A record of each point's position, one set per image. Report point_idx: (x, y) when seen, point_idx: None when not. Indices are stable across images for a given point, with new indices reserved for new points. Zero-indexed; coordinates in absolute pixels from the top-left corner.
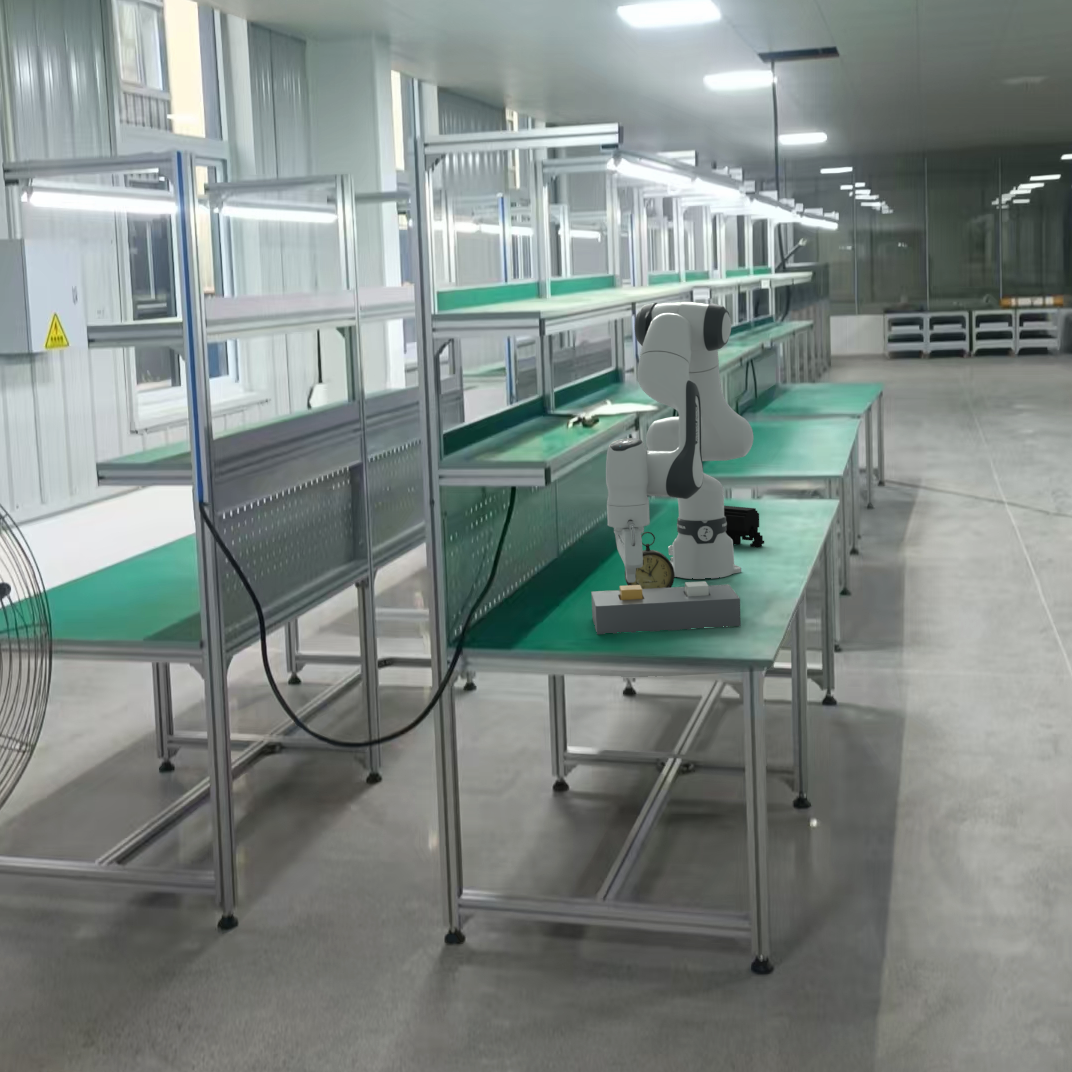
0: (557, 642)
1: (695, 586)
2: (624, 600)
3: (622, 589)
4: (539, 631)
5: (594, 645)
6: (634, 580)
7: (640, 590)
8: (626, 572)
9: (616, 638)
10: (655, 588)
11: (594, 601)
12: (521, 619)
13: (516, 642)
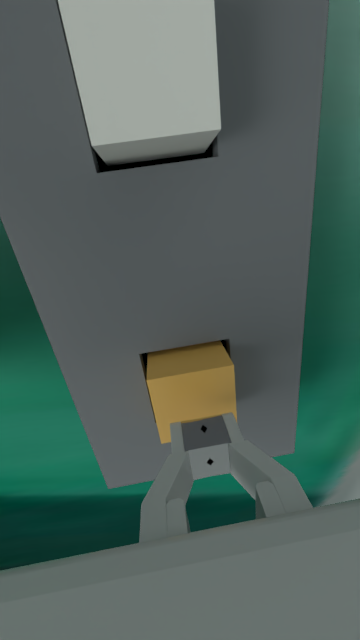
0: (301, 448)
1: (216, 65)
2: (241, 396)
3: None
4: (217, 484)
5: (343, 391)
6: (233, 417)
7: (232, 368)
8: (239, 480)
9: (303, 359)
10: (42, 311)
11: None
12: (125, 522)
13: None
